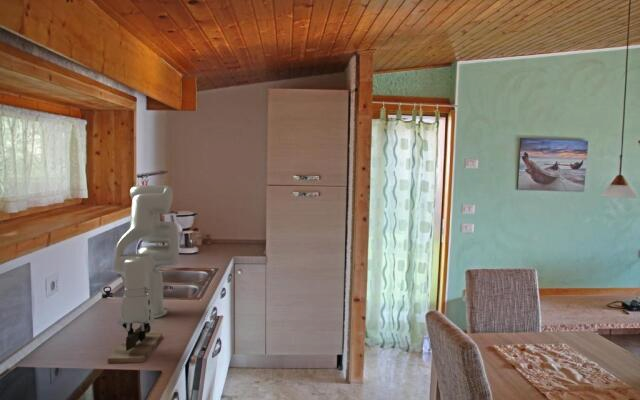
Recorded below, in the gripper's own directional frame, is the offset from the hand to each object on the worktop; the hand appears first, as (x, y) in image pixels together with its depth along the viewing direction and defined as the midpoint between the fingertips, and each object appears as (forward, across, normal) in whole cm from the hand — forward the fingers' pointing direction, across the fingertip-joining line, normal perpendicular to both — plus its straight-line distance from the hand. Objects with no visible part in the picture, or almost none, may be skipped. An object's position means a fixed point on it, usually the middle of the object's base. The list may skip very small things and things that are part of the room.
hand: (136, 340), depth 176 cm
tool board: (+3, 0, 0) cm, 3 cm away
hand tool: (+1, 0, 0) cm, 1 cm away
